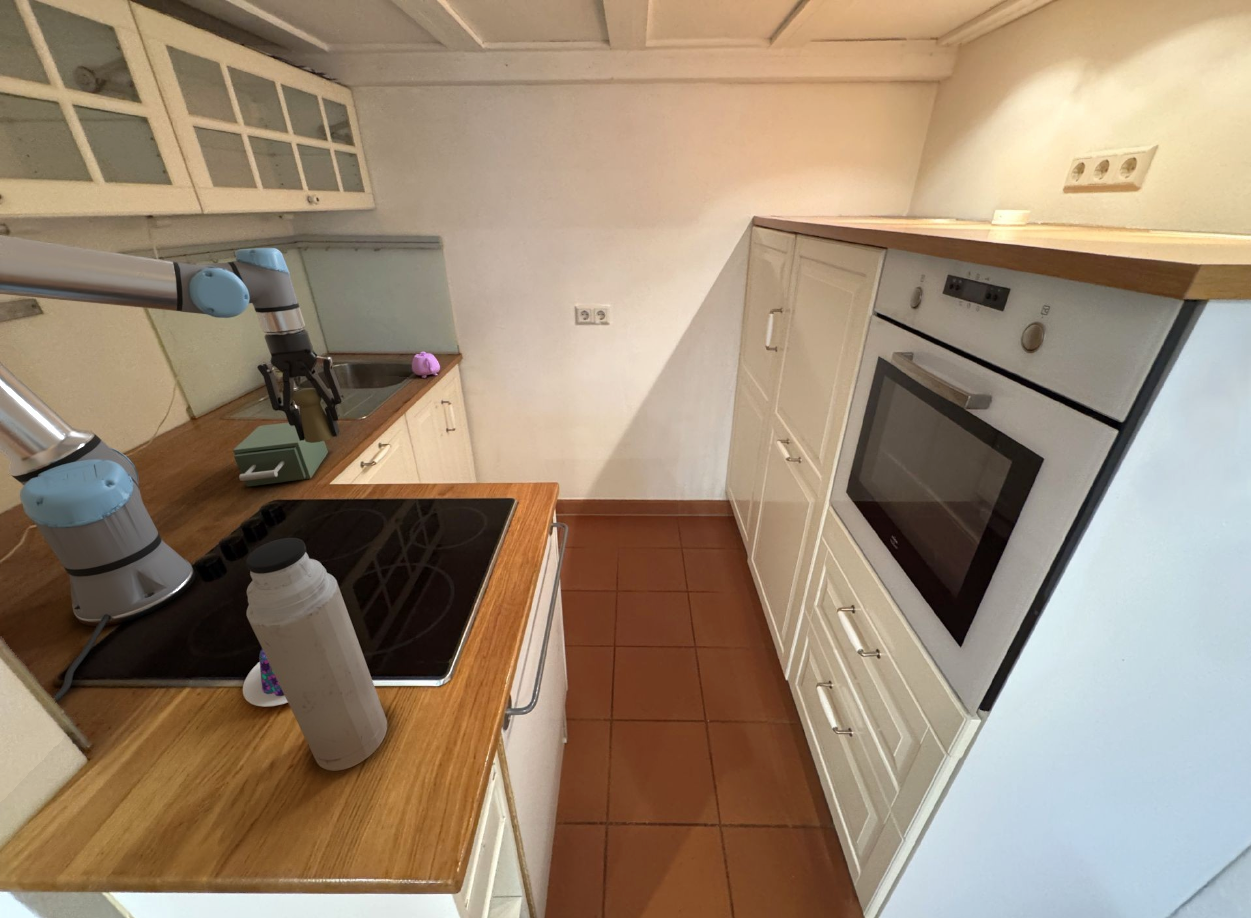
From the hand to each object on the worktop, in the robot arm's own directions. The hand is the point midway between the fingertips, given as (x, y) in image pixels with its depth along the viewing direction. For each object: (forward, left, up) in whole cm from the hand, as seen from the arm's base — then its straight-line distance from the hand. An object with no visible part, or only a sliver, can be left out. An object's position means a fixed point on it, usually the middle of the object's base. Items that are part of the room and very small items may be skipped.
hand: (320, 435), depth 111 cm
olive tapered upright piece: (0, 0, 0) cm, 0 cm away
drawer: (+11, +15, -13) cm, 23 cm away
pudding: (-56, -8, -14) cm, 58 cm away
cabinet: (+17, +15, -14) cm, 27 cm away
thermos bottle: (-69, -18, -14) cm, 72 cm away
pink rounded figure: (+98, -10, -14) cm, 99 cm away
